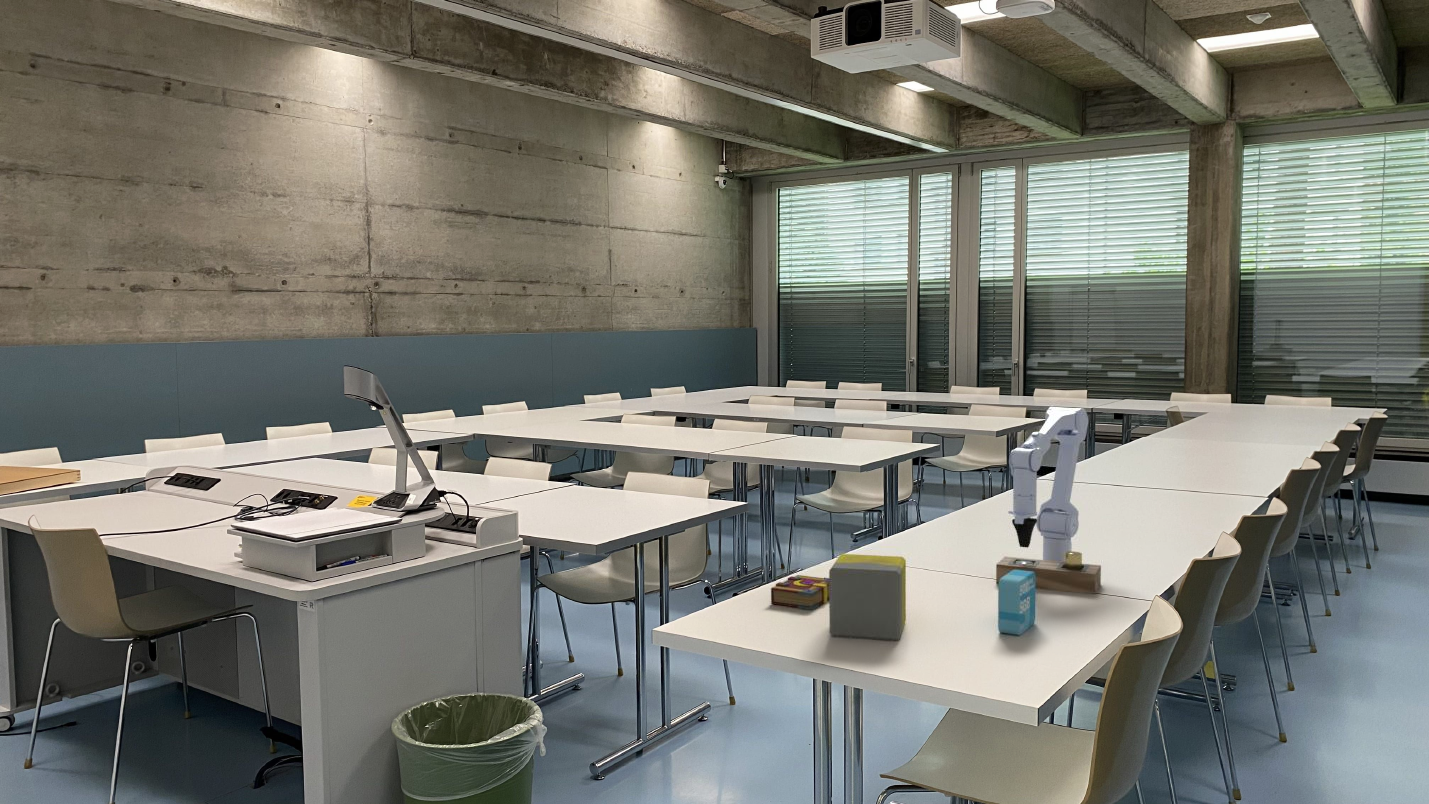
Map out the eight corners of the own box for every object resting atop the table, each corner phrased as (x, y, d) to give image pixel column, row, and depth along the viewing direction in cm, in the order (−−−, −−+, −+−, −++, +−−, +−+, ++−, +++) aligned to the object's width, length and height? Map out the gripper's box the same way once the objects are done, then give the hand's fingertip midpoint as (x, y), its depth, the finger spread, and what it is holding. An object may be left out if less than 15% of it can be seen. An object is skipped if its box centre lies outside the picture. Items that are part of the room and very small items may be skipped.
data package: (1018, 637, 215) (1018, 581, 214) (997, 634, 217) (998, 579, 216) (1035, 623, 224) (1035, 570, 224) (1015, 620, 227) (1015, 567, 226)
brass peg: (1065, 568, 258) (1065, 550, 257) (1082, 569, 256) (1083, 552, 255) (1062, 571, 254) (1062, 554, 254) (1080, 573, 252) (1080, 555, 252)
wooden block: (1004, 574, 268) (1005, 556, 268) (1100, 584, 257) (1100, 565, 256) (996, 583, 259) (996, 564, 259) (1094, 594, 248) (1095, 573, 248)
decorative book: (769, 605, 243) (769, 585, 242) (799, 590, 257) (798, 571, 256) (812, 611, 237) (812, 591, 237) (840, 595, 251) (840, 576, 250)
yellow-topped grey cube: (909, 610, 236) (909, 547, 235) (899, 641, 213) (899, 571, 212) (845, 606, 240) (845, 544, 239) (829, 637, 217) (828, 568, 216)
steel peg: (1017, 577, 264) (1017, 560, 263) (1034, 578, 262) (1034, 561, 261) (1014, 580, 260) (1014, 563, 260) (1030, 582, 258) (1030, 565, 258)
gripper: (1015, 489, 268) (1014, 539, 269) (1002, 497, 255) (1002, 550, 256) (1042, 491, 264) (1042, 542, 265) (1031, 499, 251) (1030, 553, 252)
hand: (1024, 546), depth 260 cm, fingers closed
